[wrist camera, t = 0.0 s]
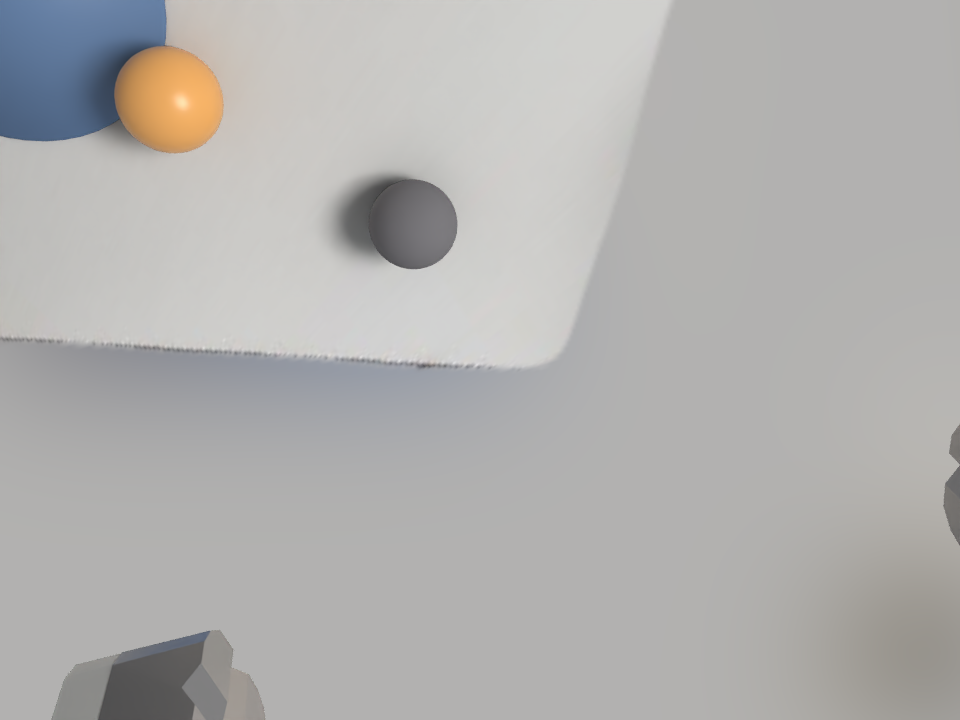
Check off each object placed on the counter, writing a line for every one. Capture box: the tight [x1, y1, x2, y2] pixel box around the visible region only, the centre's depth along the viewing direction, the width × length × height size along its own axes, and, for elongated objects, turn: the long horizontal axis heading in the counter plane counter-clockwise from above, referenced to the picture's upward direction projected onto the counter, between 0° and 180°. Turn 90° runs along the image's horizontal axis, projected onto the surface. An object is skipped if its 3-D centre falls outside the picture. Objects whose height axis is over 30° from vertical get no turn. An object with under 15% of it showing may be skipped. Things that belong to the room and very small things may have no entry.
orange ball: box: [114, 46, 224, 153], centre depth 41 cm, size 5×5×5 cm
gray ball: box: [369, 180, 457, 269], centre depth 47 cm, size 5×5×5 cm
